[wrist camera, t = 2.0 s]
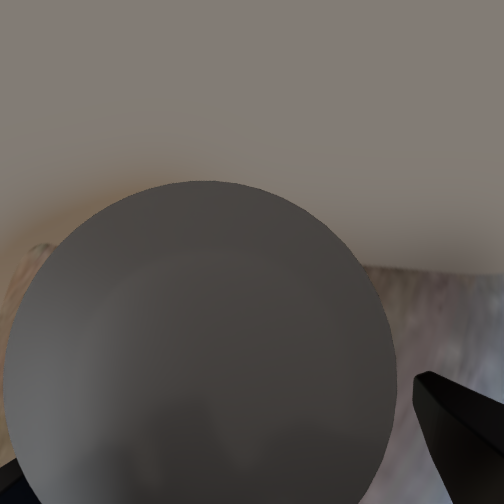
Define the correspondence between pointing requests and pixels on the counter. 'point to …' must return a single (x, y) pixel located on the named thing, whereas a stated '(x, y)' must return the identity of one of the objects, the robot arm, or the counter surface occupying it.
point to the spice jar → (200, 357)
